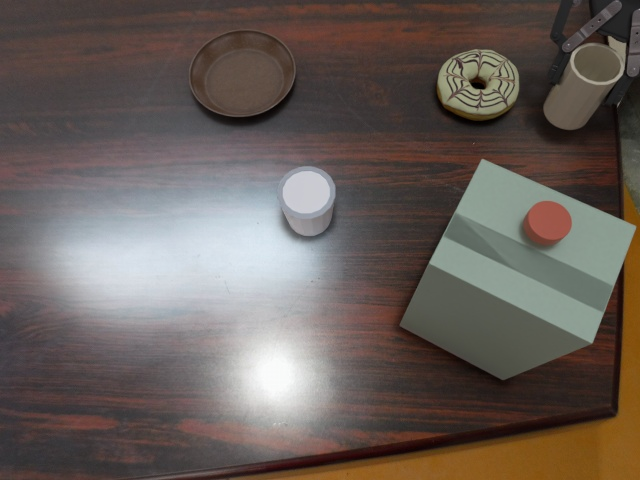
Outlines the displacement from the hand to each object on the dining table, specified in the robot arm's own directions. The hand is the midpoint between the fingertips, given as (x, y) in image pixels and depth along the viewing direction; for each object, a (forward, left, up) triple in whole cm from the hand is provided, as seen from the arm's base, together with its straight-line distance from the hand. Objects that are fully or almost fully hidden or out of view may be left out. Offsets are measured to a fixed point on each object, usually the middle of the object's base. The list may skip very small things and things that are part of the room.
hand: (578, 95), depth 63 cm
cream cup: (-1, -2, -5) cm, 6 cm away
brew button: (+13, +22, +15) cm, 30 cm away
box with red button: (+13, +22, -9) cm, 27 cm away
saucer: (+41, -11, -9) cm, 44 cm away
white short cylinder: (+32, +10, -9) cm, 35 cm away
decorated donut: (+9, -7, -7) cm, 14 cm away
